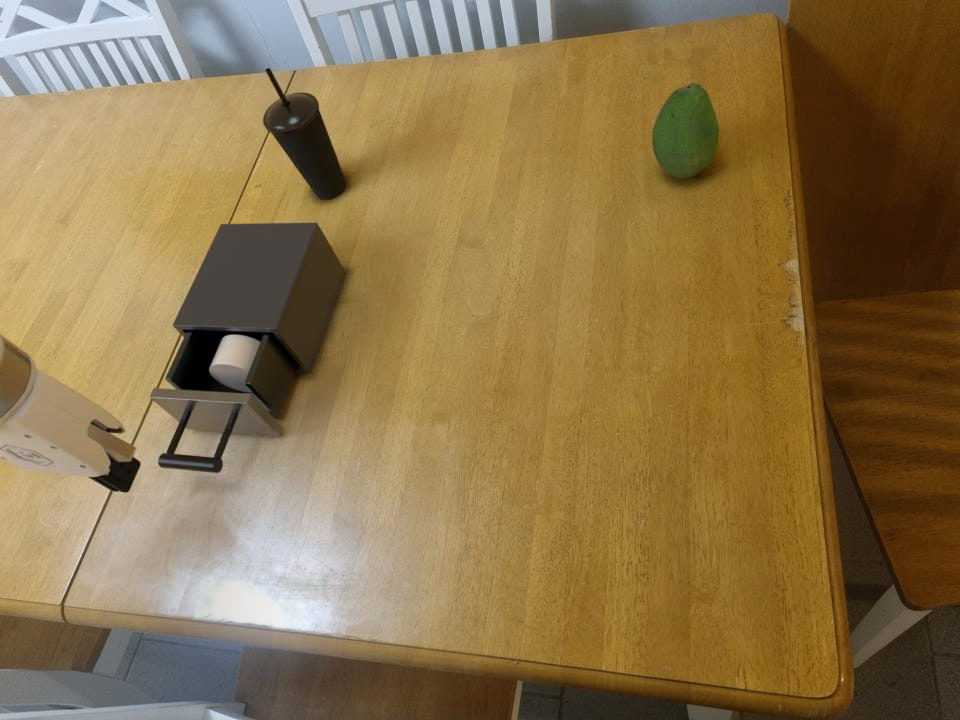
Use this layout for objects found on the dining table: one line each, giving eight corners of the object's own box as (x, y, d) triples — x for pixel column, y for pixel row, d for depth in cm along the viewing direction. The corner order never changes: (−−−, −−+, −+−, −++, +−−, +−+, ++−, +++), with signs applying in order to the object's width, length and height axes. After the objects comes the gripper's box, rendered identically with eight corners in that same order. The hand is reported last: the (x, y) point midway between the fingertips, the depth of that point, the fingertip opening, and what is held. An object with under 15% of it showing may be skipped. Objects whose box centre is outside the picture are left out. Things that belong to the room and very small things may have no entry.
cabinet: (311, 373, 88) (275, 328, 81) (214, 368, 92) (171, 325, 84) (346, 272, 96) (317, 222, 88) (256, 271, 100) (220, 223, 92)
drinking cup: (323, 215, 103) (256, 98, 87) (296, 191, 107) (228, 75, 91) (365, 184, 105) (308, 63, 88) (338, 161, 109) (278, 42, 93)
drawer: (259, 492, 80) (223, 462, 74) (164, 482, 84) (122, 453, 77) (317, 331, 91) (290, 293, 84) (230, 328, 94) (198, 291, 88)
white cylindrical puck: (239, 362, 80) (252, 331, 82) (197, 365, 83) (210, 336, 85) (275, 391, 85) (286, 362, 87) (234, 393, 88) (245, 365, 90)
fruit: (727, 153, 93) (733, 73, 83) (703, 197, 90) (706, 119, 80) (667, 141, 96) (666, 62, 86) (642, 183, 93) (638, 106, 83)
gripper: (-126, 420, 55) (47, 507, 70) (31, 434, 51) (179, 523, 66) (-71, 336, 59) (82, 436, 74) (79, 343, 54) (209, 447, 69)
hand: (127, 477), depth 70 cm, fingers closed
